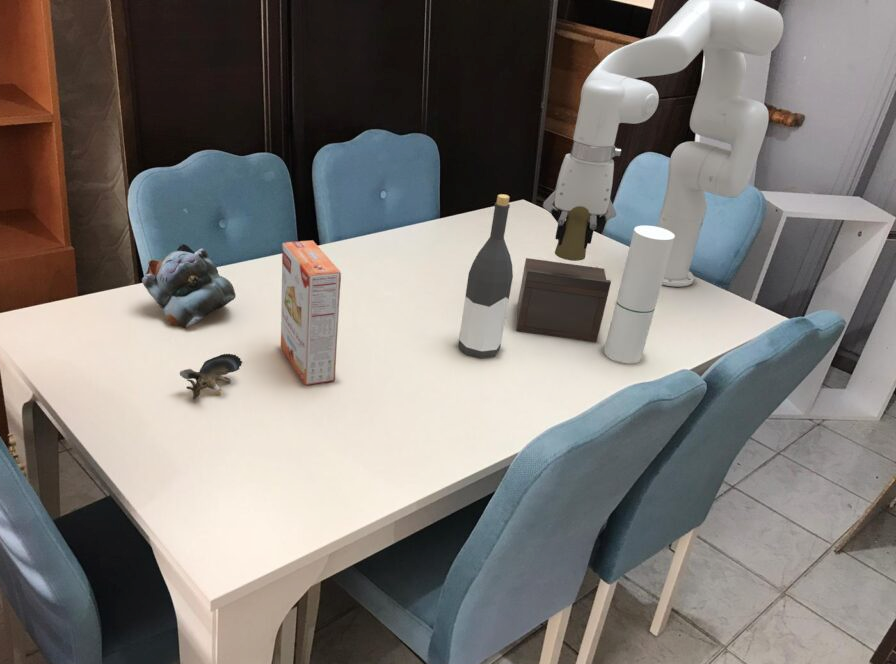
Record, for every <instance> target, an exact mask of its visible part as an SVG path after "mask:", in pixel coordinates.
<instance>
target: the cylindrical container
mask: <svg viewBox="0 0 896 664" xmlns="http://www.w3.org/2000/svg"><path fill="white" fill-rule="evenodd" d="M674 237H675V235H674V234H673V233H672V232H670V231H668V230H666V229H663V228H660V227H657V226H654V225H645V224H643V225H637V226H635V227H634V228H633V233H632V236H631V240H630V244H629V248H628V251H627V252H628V253H627V255H626V261H625V263H624V269H623V272H622V275H621V280H620V284H619V288H618V293H617V297H616V301H615V304H614V310H613V313H612V317H611V321H610V324H609V328H608V331H607V332H608V333H607V337H606V341H605V344H604V345H605V346H604V348H603V353H604V355H605V356H606V357H607V358H609V359H610V360H612V361H614V362H616V363H617V362H618V363H621V364H629V365H631V364H636V363H637V364H638V363H639V362H641V360H642V357H643V353H644V351H645V346H646V342H647V339H648V336H649V332H650V328H651V324H652V321H653V317H654V313H655V309H656V306H657V303H658V299H659V295H660V292H661V288H662V286H663V285H662V281H663V277H664V274H665V270H666V267H667V263H668V259H669V256H670V252H671V248H672V245H673V241H674Z"/></svg>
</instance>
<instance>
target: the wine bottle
mask: <svg viewBox="0 0 896 664" xmlns="http://www.w3.org/2000/svg"><path fill="white" fill-rule="evenodd" d="M509 202H510V196H509V195H508V194H502V193H500V194H497V198H496V202H494V205H493V206H494V209H493V217H492V223H491V229H490V236H489V238H488V239H487V240H486V242H485V243H484V245H482V247H481V249H480V250H479V251H478V253H477V254H476V256H475V258H474V259H473V261H472V264H471V267H470V269H469V271H468V276H467V283H466V290H465V296H464V304H463V310H462V316H461V322H460V323H461V324H460V329H459V335H458V348H459V349H460V350H461V351H462V353H464V354H465V355H467V356H471V357H474V358H477V359H478V358H479V359H486V358H487V359H488V358H494V357H496V356H497V354H498V353H499V351H500V349H501V345H502V340H503V335H504V329H505V324H506V319H507V313H508V305H509V301H510V296H511V289H512V284H513V278H514V272H513V271H514V270H513V263H512V258H511V254H510V252H509V249H508V246H507V243H506V240H505V233H506V227H507V223H508V222H507V221H508V216H509V215H508V214H509V210H510V207H511V205H510V203H509Z"/></svg>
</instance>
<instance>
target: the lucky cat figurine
mask: <svg viewBox="0 0 896 664" xmlns="http://www.w3.org/2000/svg"><path fill="white" fill-rule="evenodd" d="M147 264H148V267H147V271H146V273H145V275H144V276H143V277H142V278H141V282H142V285H143V286H144V288H145V289H146V291H147V292H148V294H149V295H150V296H151V298H153V300H154V301H155V303H156V304H157V305H158V306H159V307H160V309H161V310H162V312H163V313H164V315H165V318H166V320H167V321H168V322H169V324H170V325H172V326H175V327H179V328H184V329H185V328H187V327H189V326H191V325H194V324H196V323H198V322H199V321H201V320H202V319H204V318H205V317H207V316H209V315H210V314H212V313H214V312H217V311H218V310H221V309H222V308H224V307H225V306H227V305H228V304H229V303H231V302H232V301H234V300H235V299H236V296H237V295H236V291H235V289H234V286H233V284H232V283H231V281H230V280H228V279H227V278H226V277H225V276H221V275H220V273H219V271H218V267H217V266H216V265H215V263H214V261H212V259H210V257H209V254H208V251H207V250H206V249H205V248H199V249H198V250H197V251H194V250H192V249H191V248H190V246H188V245H186V244H184V243H183V244H182V243H181V244H180V245H179V246H178V248H177V249H176V250H175V251H172V252H170V253H169V254H167V255H166V256H164V257H163V258H162V260H159V259H158V260H156V259H150V260H148V263H147Z"/></svg>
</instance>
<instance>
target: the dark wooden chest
mask: <svg viewBox="0 0 896 664" xmlns="http://www.w3.org/2000/svg"><path fill="white" fill-rule="evenodd" d="M605 271H606V270H605V268H602V267H594V266H587V265H581V264H574V263H566V262H558V261H552V260H544V259H536V258H528V257H526V258H525V262H524V266H523V272H522V278H521V284H520V288H519V295H518V300H517V304H516V329H515V331H517V332H522V333H529V334H530V333H531V334H537V335H543V336H551V337H558V338H563V339H570V340H577V341H585V342H591V343H597V342H598V340H599V339H598V338H599V335H600V331H601V326H602V323H603V321H602V320H603V317H604V313H605V309H606V306H607V301H608V297H609V292H610V288H611V285H612V280H610V279H607V276H606V272H605Z"/></svg>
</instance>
